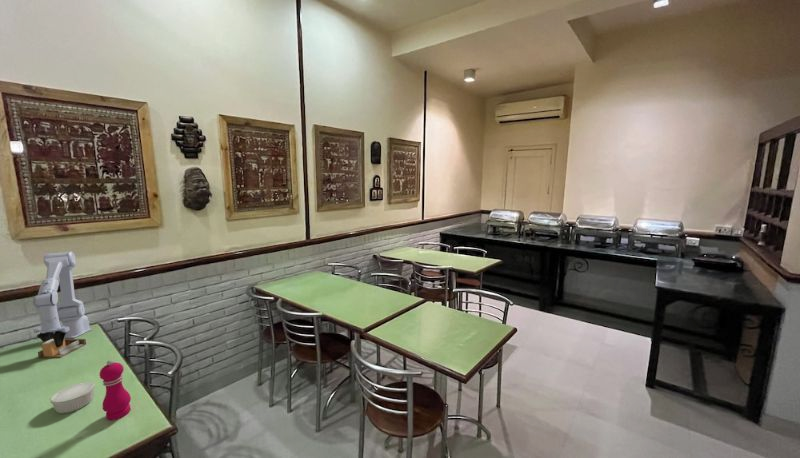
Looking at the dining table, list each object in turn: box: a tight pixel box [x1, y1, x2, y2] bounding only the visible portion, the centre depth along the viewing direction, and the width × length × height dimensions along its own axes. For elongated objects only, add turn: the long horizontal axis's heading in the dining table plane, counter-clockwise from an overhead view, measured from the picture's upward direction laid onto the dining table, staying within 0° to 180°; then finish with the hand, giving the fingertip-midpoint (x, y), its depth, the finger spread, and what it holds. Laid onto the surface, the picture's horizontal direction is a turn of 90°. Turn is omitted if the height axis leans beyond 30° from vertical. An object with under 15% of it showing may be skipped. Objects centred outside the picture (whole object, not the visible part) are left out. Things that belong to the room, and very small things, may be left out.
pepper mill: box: [99, 359, 132, 421], centre depth 108 cm, size 7×7×20 cm
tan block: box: [41, 339, 66, 356], centre depth 148 cm, size 6×4×6 cm
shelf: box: [37, 338, 87, 359], centre depth 151 cm, size 12×10×3 cm
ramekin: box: [49, 381, 96, 414], centre depth 114 cm, size 11×11×5 cm
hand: (54, 346), depth 148 cm, fingers closed on tan block, 4 cm apart
